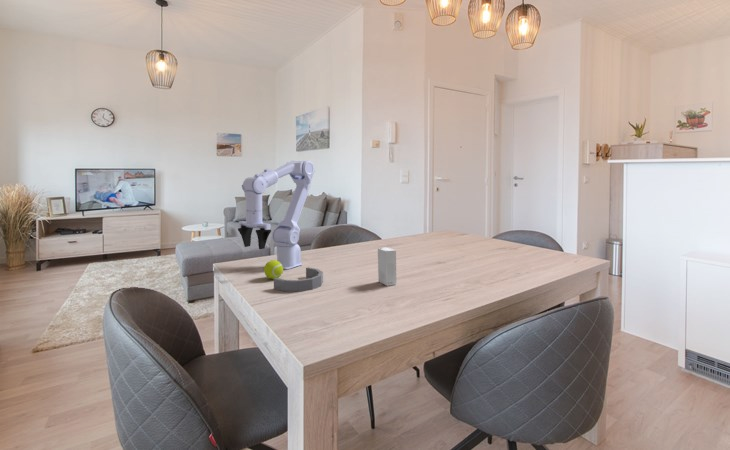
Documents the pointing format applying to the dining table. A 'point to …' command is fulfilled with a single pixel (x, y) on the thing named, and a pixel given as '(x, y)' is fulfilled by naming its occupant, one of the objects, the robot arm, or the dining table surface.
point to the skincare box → (387, 266)
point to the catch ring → (301, 282)
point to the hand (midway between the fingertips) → (254, 247)
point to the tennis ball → (273, 269)
